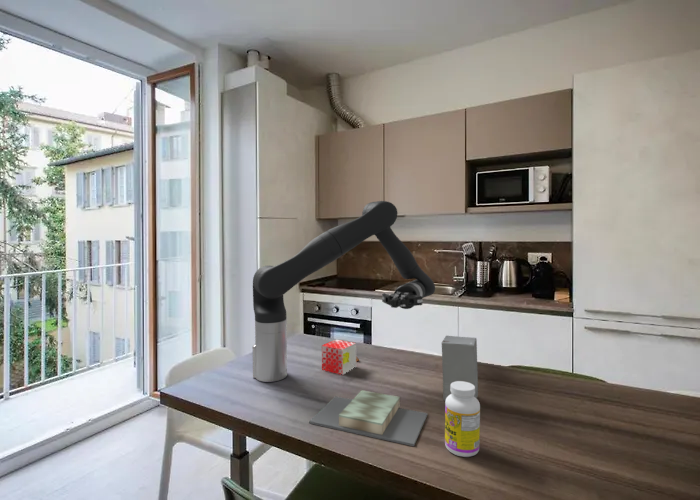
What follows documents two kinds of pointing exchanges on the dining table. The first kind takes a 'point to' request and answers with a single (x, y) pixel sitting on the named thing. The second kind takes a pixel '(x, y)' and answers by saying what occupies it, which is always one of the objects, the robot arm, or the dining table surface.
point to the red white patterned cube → (338, 356)
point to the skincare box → (459, 362)
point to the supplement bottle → (462, 420)
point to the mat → (398, 430)
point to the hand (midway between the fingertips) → (393, 304)
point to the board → (370, 412)
